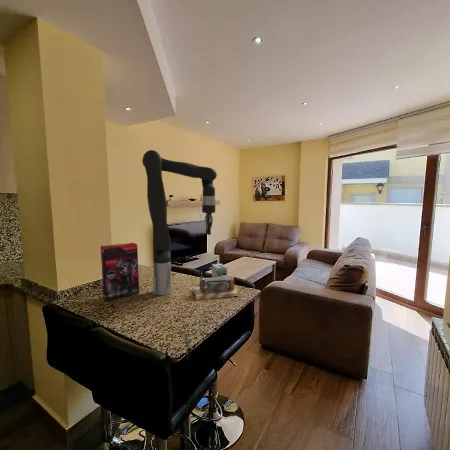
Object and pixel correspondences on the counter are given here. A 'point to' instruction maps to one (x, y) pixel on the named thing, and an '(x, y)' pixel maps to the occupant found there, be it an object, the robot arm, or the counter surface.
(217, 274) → the light bulb box
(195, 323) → the counter surface
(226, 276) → the strap
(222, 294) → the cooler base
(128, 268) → the graphics card box
